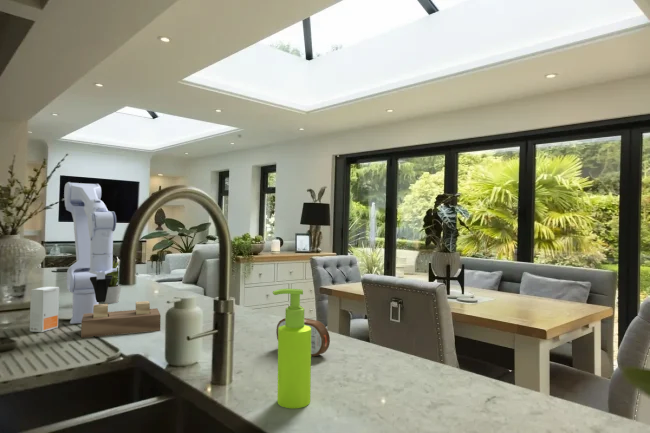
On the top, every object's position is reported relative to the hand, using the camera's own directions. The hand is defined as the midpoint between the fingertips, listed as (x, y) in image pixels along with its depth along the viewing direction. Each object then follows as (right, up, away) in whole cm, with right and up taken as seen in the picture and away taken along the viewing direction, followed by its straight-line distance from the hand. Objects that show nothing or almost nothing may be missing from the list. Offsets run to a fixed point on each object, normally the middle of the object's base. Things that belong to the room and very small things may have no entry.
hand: (100, 301), depth 125 cm
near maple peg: (0, -5, 0) cm, 5 cm away
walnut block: (+5, -9, +2) cm, 10 cm away
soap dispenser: (+58, -9, -46) cm, 75 cm away
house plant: (-19, -9, +45) cm, 50 cm away
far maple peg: (+10, -5, +5) cm, 12 cm away
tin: (+58, -9, -17) cm, 61 cm away
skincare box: (-17, -9, +2) cm, 19 cm away
